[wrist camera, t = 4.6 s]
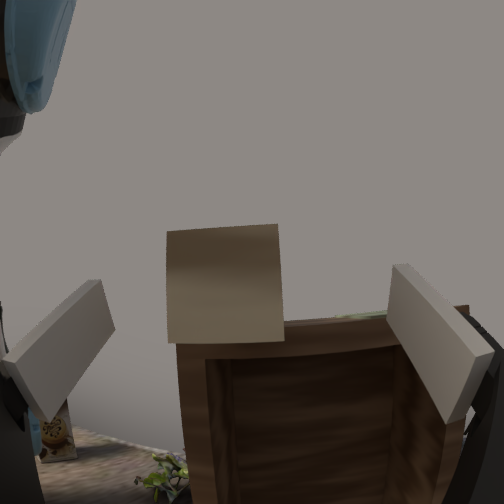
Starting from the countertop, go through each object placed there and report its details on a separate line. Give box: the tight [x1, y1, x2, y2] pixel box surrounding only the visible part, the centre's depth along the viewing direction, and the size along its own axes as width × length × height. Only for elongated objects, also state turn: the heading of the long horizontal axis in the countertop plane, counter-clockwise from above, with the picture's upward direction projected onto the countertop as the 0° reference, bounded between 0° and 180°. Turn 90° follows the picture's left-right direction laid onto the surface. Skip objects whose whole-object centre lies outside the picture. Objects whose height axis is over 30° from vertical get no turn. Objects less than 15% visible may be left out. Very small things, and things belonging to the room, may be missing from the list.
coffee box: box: [37, 398, 78, 463], centre depth 43 cm, size 9×6×16 cm
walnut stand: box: [176, 305, 470, 504], centre depth 23 cm, size 14×22×30 cm, turn 86°
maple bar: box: [166, 224, 284, 344], centre depth 22 cm, size 24×4×4 cm, turn 176°
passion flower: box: [134, 448, 190, 504], centre depth 36 cm, size 11×11×12 cm
